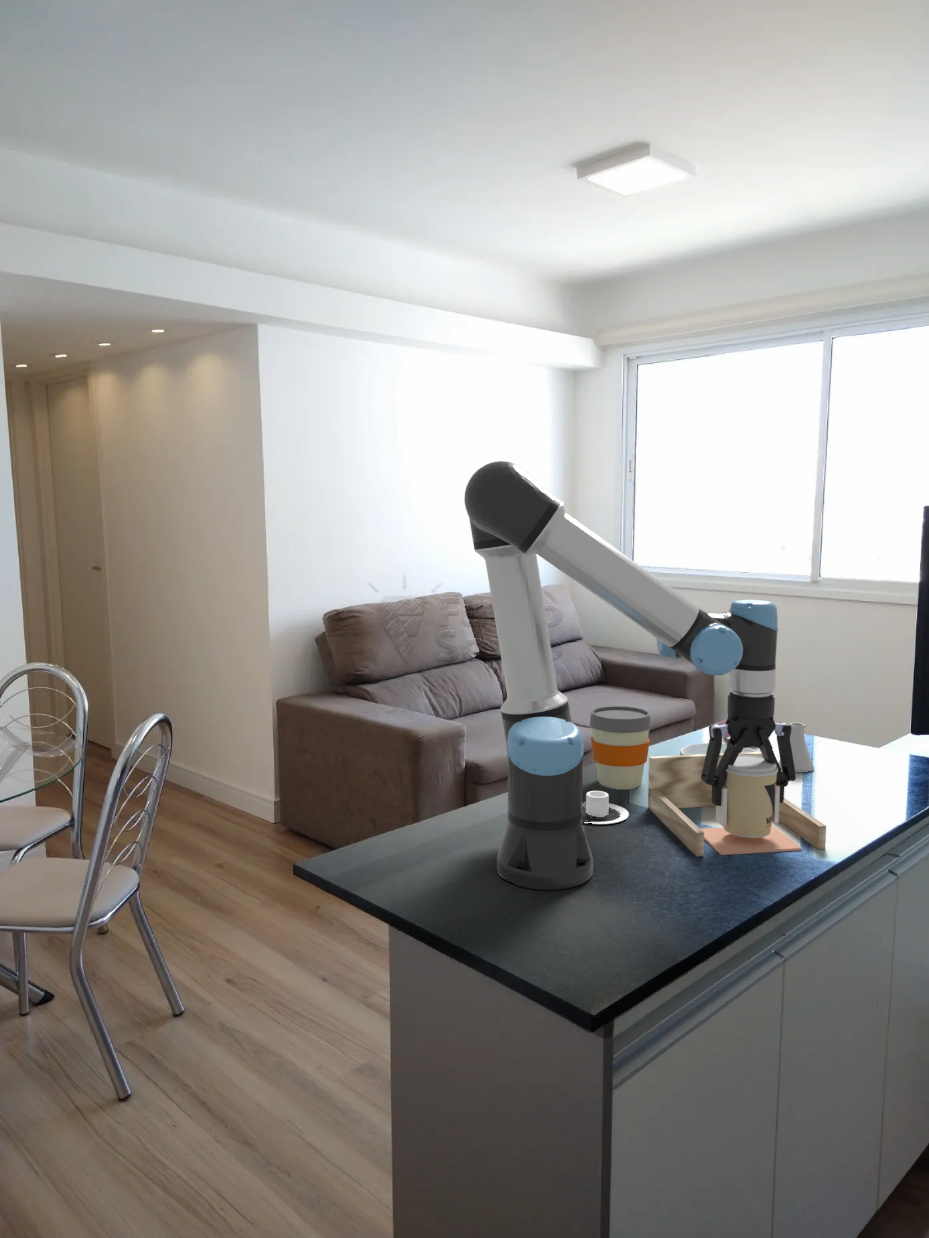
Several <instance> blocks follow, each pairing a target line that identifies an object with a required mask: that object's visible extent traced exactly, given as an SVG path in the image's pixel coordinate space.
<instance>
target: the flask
mask: <svg viewBox="0 0 929 1238" xmlns="http://www.w3.org/2000/svg"><path fill="white" fill-rule="evenodd" d="M788 725H790V726H791V728H792V730H791V735H790V742H791V749H792V755H793V761H794V767H795V773H809V772H812V771H814V769H815V767H814V764H813V760H812V759H811V756H810V753H809V750H808V746H807V743H806V738H805V728H806V727H807V726H806V723H801V722H789V723H788ZM778 764H779V766H780V768H781V770H782V767H781V761H780V760H778ZM808 771H809V772H808Z"/></svg>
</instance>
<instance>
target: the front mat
mask: <svg viewBox="0 0 929 1238" xmlns="http://www.w3.org/2000/svg"><path fill="white" fill-rule="evenodd" d="M700 829H701V830H702V831H703V832H704V841H706V843H707V844H709V846H710V847H712V848H713V849H714V850H715V851H716V852H717V853H718V854H720V856H727V855H742V854H759V853H779V852H780V853H781V852H795V851H802V849H803V848H802V847H801V846H799V845H798V844H797V843H795V842H794V841H793V840H791V839H790V838H789V837H788V836H786V834H784V833H782V832H781V831H780V830H778V828H775V827H774V826H773V825H772V824H771V831H770V834H769V835H767V836H765V837H760V838H747V837H740V836H736V835H733V834H730V833H728V832H727V831H725V830H724V827H723V826H721V827H706V828H705V827H704V828H700Z"/></svg>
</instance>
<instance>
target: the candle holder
mask: <svg viewBox="0 0 929 1238" xmlns="http://www.w3.org/2000/svg"><path fill="white" fill-rule="evenodd" d="M609 797H610V796H609V793H607V792H605V791H602V790H591V791H588V792H586V793H585V802H584V801H583V802H584V803H586V807H585V814H586V813H587V814H588V815H592V816H596V817H604V816H606V815H608V816H609V812H610V811H609V810H610V809H609V807H610V808H612V809H615V810H616V811H618V812H619V813H620V815H619V816H620V817H618V818H615V819H613V820H607V821H591V822H584V823H583V824H588V823H592V824H591V825H610V824H616V823H619V822H620V823H621V822H624V820H627V819H628V817H629V815H630V813H629V811H628V810H627V809H626V808H624V807H623V806H619V805H617V804H614V803H610V802H609V800H610V798H609ZM612 809H611V810H612ZM616 811H615V812H616ZM618 812H617V813H618ZM619 813H618V814H619ZM604 818H605V817H604Z"/></svg>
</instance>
